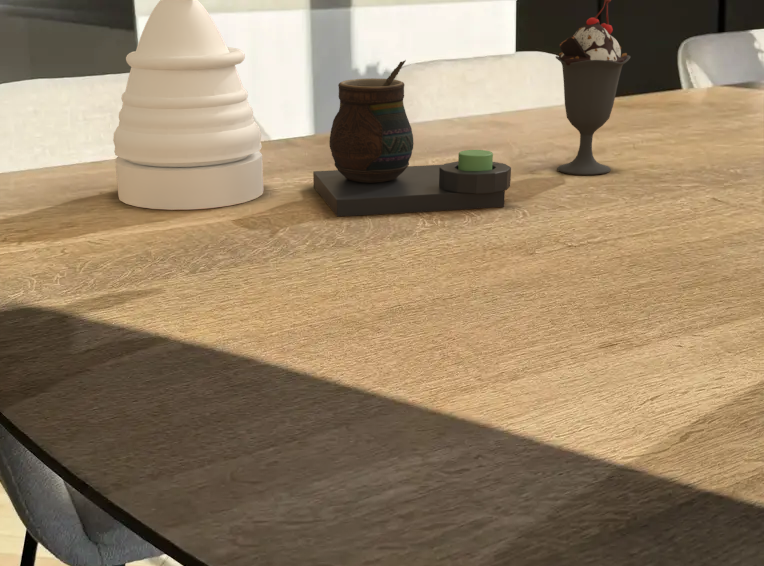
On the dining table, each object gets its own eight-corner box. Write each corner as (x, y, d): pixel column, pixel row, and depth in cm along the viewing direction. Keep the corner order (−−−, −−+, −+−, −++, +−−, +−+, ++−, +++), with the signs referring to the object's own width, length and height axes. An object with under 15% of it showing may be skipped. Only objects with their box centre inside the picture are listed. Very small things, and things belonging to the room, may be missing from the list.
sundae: (615, 163, 108) (630, -4, 101) (623, 177, 102) (640, 0, 95) (546, 163, 109) (556, -3, 102) (550, 176, 102) (561, 1, 96)
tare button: (486, 167, 94) (487, 148, 93) (496, 174, 91) (497, 154, 90) (454, 169, 93) (454, 150, 93) (463, 175, 91) (464, 156, 90)
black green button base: (472, 178, 103) (473, 145, 101) (517, 208, 91) (519, 171, 90) (313, 186, 101) (312, 153, 99) (338, 219, 89) (338, 181, 88)
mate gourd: (365, 167, 101) (365, 50, 97) (433, 176, 97) (436, 55, 93) (312, 180, 96) (310, 58, 92) (381, 190, 92) (382, 63, 88)
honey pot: (293, 189, 100) (287, -29, 92) (190, 216, 91) (174, -23, 83) (191, 173, 107) (178, -30, 100) (87, 197, 98) (64, -24, 91)
